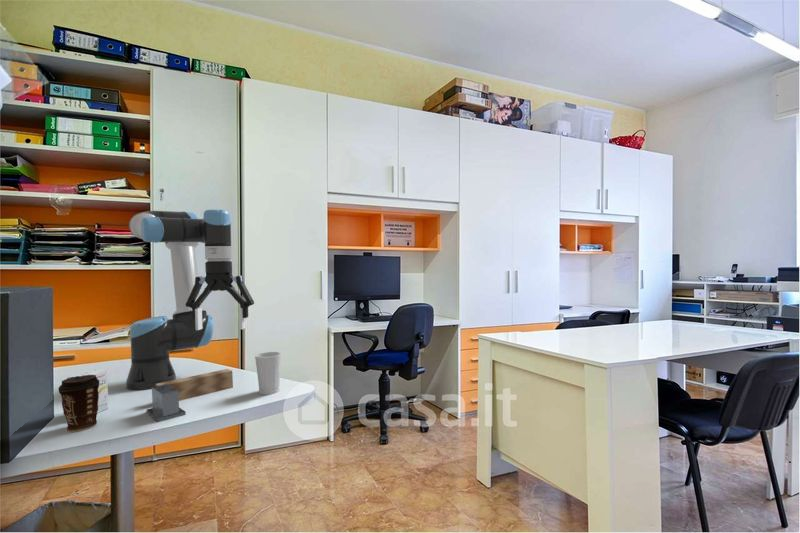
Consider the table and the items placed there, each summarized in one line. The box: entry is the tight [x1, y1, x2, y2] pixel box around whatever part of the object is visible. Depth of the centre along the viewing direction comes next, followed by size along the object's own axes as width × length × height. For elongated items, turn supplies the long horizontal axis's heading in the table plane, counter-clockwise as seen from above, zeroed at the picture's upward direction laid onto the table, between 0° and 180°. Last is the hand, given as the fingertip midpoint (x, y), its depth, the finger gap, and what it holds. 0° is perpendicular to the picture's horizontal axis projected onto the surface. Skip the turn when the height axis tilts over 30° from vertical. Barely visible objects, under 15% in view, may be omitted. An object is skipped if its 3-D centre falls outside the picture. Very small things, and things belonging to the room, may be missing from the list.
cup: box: [254, 351, 282, 395], centre depth 133 cm, size 8×8×12 cm
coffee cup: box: [58, 375, 99, 433], centre depth 108 cm, size 9×8×13 cm
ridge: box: [145, 384, 187, 423], centre depth 116 cm, size 11×7×7 cm, turn 45°
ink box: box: [66, 369, 109, 414], centre depth 118 cm, size 9×5×12 cm, turn 168°
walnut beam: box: [156, 368, 234, 402], centre depth 132 cm, size 22×4×6 cm, turn 135°
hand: (221, 329), depth 127 cm, fingers open, 13 cm apart
